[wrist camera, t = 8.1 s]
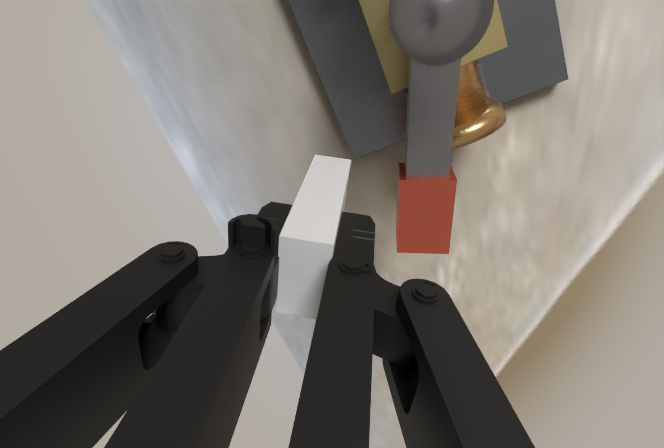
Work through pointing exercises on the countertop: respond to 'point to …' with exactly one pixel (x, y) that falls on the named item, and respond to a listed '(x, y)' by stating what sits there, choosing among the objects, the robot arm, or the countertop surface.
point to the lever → (432, 113)
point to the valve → (393, 67)
